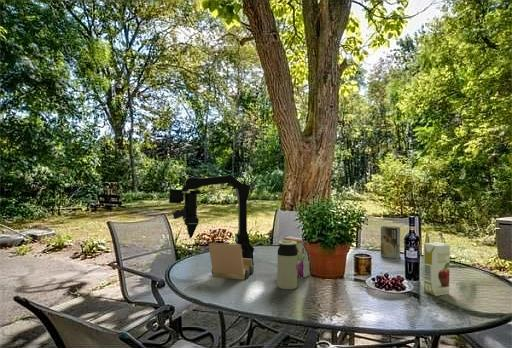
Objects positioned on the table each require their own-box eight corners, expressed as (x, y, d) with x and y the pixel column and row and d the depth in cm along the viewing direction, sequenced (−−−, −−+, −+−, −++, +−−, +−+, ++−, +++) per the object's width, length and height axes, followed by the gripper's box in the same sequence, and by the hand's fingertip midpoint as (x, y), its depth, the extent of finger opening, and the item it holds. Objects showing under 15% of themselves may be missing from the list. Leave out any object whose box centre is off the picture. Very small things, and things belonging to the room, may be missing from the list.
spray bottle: (282, 273, 171) (283, 237, 171) (289, 271, 175) (290, 235, 175) (303, 278, 164) (303, 240, 164) (309, 276, 167) (310, 239, 167)
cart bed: (220, 269, 178) (221, 256, 178) (254, 272, 173) (254, 258, 173) (210, 276, 165) (210, 262, 165) (246, 279, 161) (246, 265, 161)
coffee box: (400, 256, 207) (400, 227, 207) (397, 258, 202) (397, 228, 202) (383, 254, 212) (383, 225, 212) (380, 256, 207) (380, 227, 207)
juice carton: (419, 291, 147) (420, 242, 147) (436, 288, 151) (436, 241, 151) (436, 297, 141) (436, 246, 140) (452, 294, 144) (453, 244, 144)
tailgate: (213, 270, 166) (209, 242, 161) (244, 273, 162) (240, 244, 157) (212, 272, 165) (208, 243, 160) (243, 275, 161) (240, 245, 156)
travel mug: (274, 288, 150) (275, 243, 149) (280, 283, 157) (280, 239, 157) (294, 291, 147) (294, 244, 147) (299, 285, 154) (299, 241, 154)
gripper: (172, 201, 189) (172, 233, 189) (174, 205, 171) (173, 239, 171) (195, 201, 192) (194, 232, 192) (199, 205, 174) (198, 239, 174)
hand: (189, 236), depth 182 cm, fingers open, 9 cm apart
